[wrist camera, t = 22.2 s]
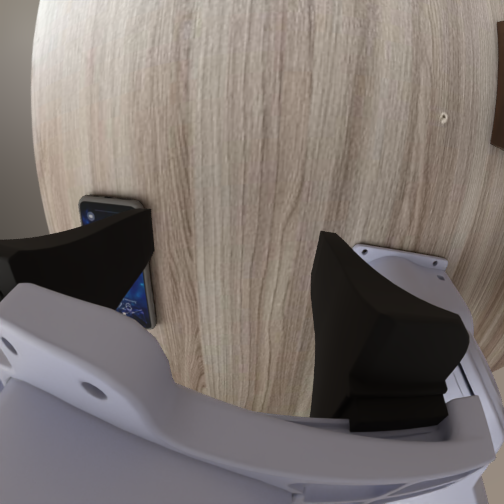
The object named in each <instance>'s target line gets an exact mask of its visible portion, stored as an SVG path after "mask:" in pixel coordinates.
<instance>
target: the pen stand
mask: <svg viewBox="0 0 504 504" xmlns="http://www.w3.org/2000/svg"><path fill="white" fill-rule="evenodd" d="M497 31H498V87H497V100H496V109H495V117H494V125H493V131H492V137H491V144H492V145H494V146H496V147H498V148H500V149H502V150H503V151H504V21H500V22H497Z"/></svg>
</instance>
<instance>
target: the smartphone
mask: <svg viewBox="0 0 504 504" xmlns="http://www.w3.org/2000/svg"><path fill="white" fill-rule="evenodd" d="M78 206H79V214H80V220H81V226H84V225H87V224H90V223H92V222H95V221H98V220H101V219H104V218H107V217H110V216H112V215H115V214H118V213H121V212H124V211H128V210H131V209H137V208H142V209H144V207H143V206H142V204H141V203H140V202H138V201H136V200H132V199H122V198H113V197H107V196H105V197H103V196H92V195H85V196H83V197H82V198H81V199H80V200H79V204H78ZM154 309H155V307H154V302H153V292H152V289H151V280H150V271H149V262H148V264H147V266H146V267H145V269H144V270H143V272H142V273H141V275H140V276H139V277H138V279H137V280H136V282H135V283H134V284H133V286H132V287H131V288H130V290H129V291H128V293H127V294H126V295H125V297H124V298H123V300H122V301H121V303H120V304H119V306H118V308H117V309H116V311H117V312H119V313H121V314H123V315H126V316H128V317H130V318H132V319H134V320H136V321H137V322H138V323H139V324H140V325H141V326H143V327H144V328H145V329H153V328H154V327H155V326H156V314H155V311H154Z"/></svg>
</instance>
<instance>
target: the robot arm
mask: <svg viewBox="0 0 504 504" xmlns="http://www.w3.org/2000/svg"><path fill="white" fill-rule="evenodd" d="M365 249H366V250H367V251H366V252H365V253H363V252H362V251H363V250H365ZM153 252H154V241H153V230H152V218H151V209H142V208H137V209H131V210H128V211H124V212H121V213H118V214H115V215H112V216H110V217H107V218H104V219H101V220H98V221H95V222H92V223H90V224H87V225H84V226H81V227H78V228H74V229H71V230H67V231H63V232H59V233H54V234H49V235H44V236H39V237H33V238H24V239H13V240H12V239H10V240H0V504H385V503H386V504H488V499H487V495H486V491H485V487H484V483H483V480H482V476H481V475H482V474H483V472H484V471H485V470H486V468H487V467H488V465H489V464H490V463H491V462H493V461H494V460H495V458H496V453H497V452H498V450H499V449H500V447H501V446H502V444H503V442H504V407H503V405H502V399H501V395H500V392H499V390H498V387H497V384H496V382H495V379H494V377H493V374H492V372H491V370H490V367H489V365H488V363H487V361H486V359H485V357H484V355H483V353H482V351H481V349H480V347H479V345H478V344H477V342H476V340H475V338H474V337H473V336H474V326H473V319H472V315H471V312H470V310H469V308H468V307H467V305H466V303H465V302H464V300H463V298H462V297H461V295H460V293H459V292H458V290H457V289H456V287H455V286H454V284H453V282H452V281H451V279H450V278H449V276H448V275H447V273H446V272H445V270H446V268H447V265H448V261H447V260H446V259H445V258H441V257H435V256H430V255H424V254H418V253H413V252H407V251H401V250H395V249H389V248H383V247H377V246H371V245H364V244H356V245H355V246H354V247H353V249H352V248H351V247H350V246H349V245H348V244H347V243H346V242H345V241H344V240H343V239H342V238H341V237H340V236H338V235H337V234H336V233H331V232H325V231H320V236H319V241H318V245H317V250H316V254H315V259H314V263H313V268H312V272H311V301H312V311H313V320H314V330H315V367H314V382H313V393H312V403H311V412H310V417H297V416H286V415H277V414H269V413H261V412H254V411H250V410H247V409H244V408H241V407H238V406H235V405H232V404H229V403H226V402H224V401H221V400H218V399H215V398H213V397H210V396H207V395H205V394H202V393H200V392H197V391H195V390H192V389H190V388H187V387H185V386H182V385H180V384H177V383H175V382H174V380H173V378H172V374H171V370H170V365H169V361H168V359H167V357H166V355H165V354H164V352H163V350H162V348H161V347H160V345H159V343H158V341H157V339H156V338H155V337H154V336H153V335H152V334H151V333H149V332H148V331H147V330H146V329H145V328H144V327H143V326H141V325H140V324H139V323H138V322H137V321H136V320H134V319H132V318H130V317H128V316H126V315H123V314H121V313H119V312H117V311H116V309H117V308H118V306H119V304H120V303H121V301H122V300H123V298H124V297H125V295H126V294H127V293H128V291H129V290H130V288H131V287H132V286H133V284H134V283H135V282H136V280H137V279H138V277H139V276H140V275H141V273H142V272H143V270H144V269H145V267H146V266H147V264H148V262H149V260H150V258H151V256H152V254H153ZM434 261H436V262H435V263H434V264H433V262H434Z"/></svg>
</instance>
